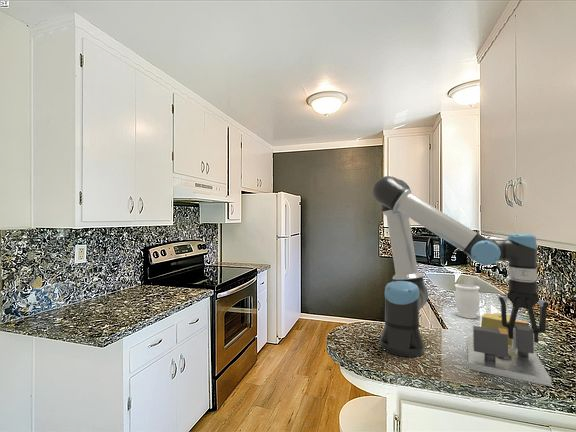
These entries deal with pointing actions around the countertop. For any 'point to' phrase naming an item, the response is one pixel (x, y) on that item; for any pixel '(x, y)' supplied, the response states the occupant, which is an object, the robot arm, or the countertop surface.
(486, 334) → the knob
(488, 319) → the cheese
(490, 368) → the level plate
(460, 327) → the countertop surface
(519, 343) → the orange-capped gray block
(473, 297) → the jar
